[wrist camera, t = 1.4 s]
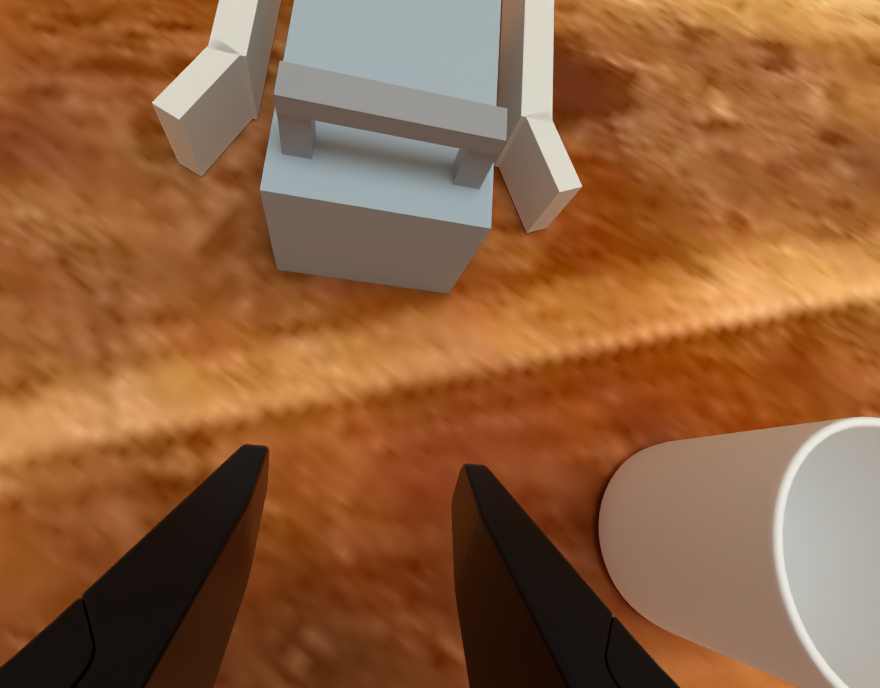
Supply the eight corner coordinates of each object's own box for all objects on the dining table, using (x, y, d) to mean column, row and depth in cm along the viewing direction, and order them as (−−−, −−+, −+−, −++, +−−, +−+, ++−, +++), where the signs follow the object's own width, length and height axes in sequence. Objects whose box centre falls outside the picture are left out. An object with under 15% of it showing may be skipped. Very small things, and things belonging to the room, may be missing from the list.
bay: (546, 236, 27) (582, 196, 23) (176, 172, 24) (149, 114, 20) (551, -66, 33) (581, -137, 29) (254, -151, 30) (244, -244, 26)
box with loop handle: (447, 295, 26) (520, 183, 16) (277, 271, 24) (247, 132, 15) (464, 46, 30) (529, -160, 20) (319, 13, 28) (317, -226, 19)
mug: (781, 421, 27) (1033, 385, 18) (833, 591, 26) (1147, 655, 16) (573, 456, 25) (739, 437, 15) (615, 650, 23) (835, 774, 13)
